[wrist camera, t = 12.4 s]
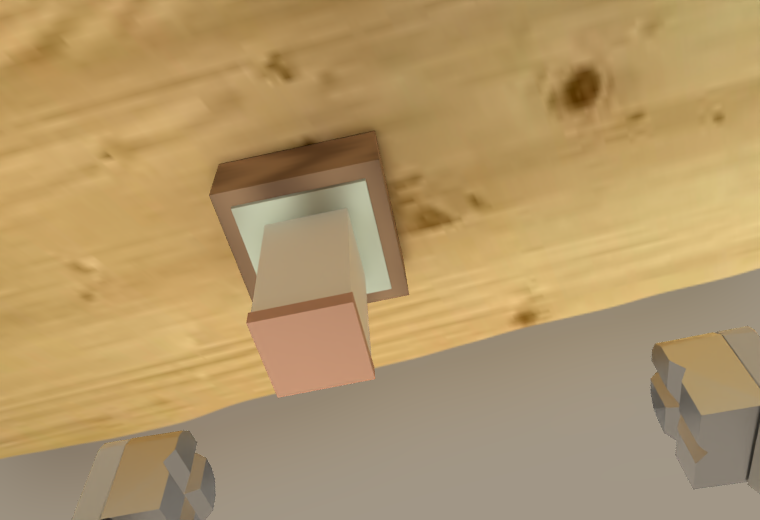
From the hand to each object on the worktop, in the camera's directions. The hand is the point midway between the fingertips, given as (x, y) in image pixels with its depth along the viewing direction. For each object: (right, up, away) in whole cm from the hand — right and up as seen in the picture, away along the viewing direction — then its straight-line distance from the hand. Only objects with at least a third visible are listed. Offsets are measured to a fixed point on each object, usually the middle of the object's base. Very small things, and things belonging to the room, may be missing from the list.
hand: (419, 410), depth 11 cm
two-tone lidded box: (-5, +3, +28) cm, 29 cm away
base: (-5, +6, +32) cm, 33 cm away
